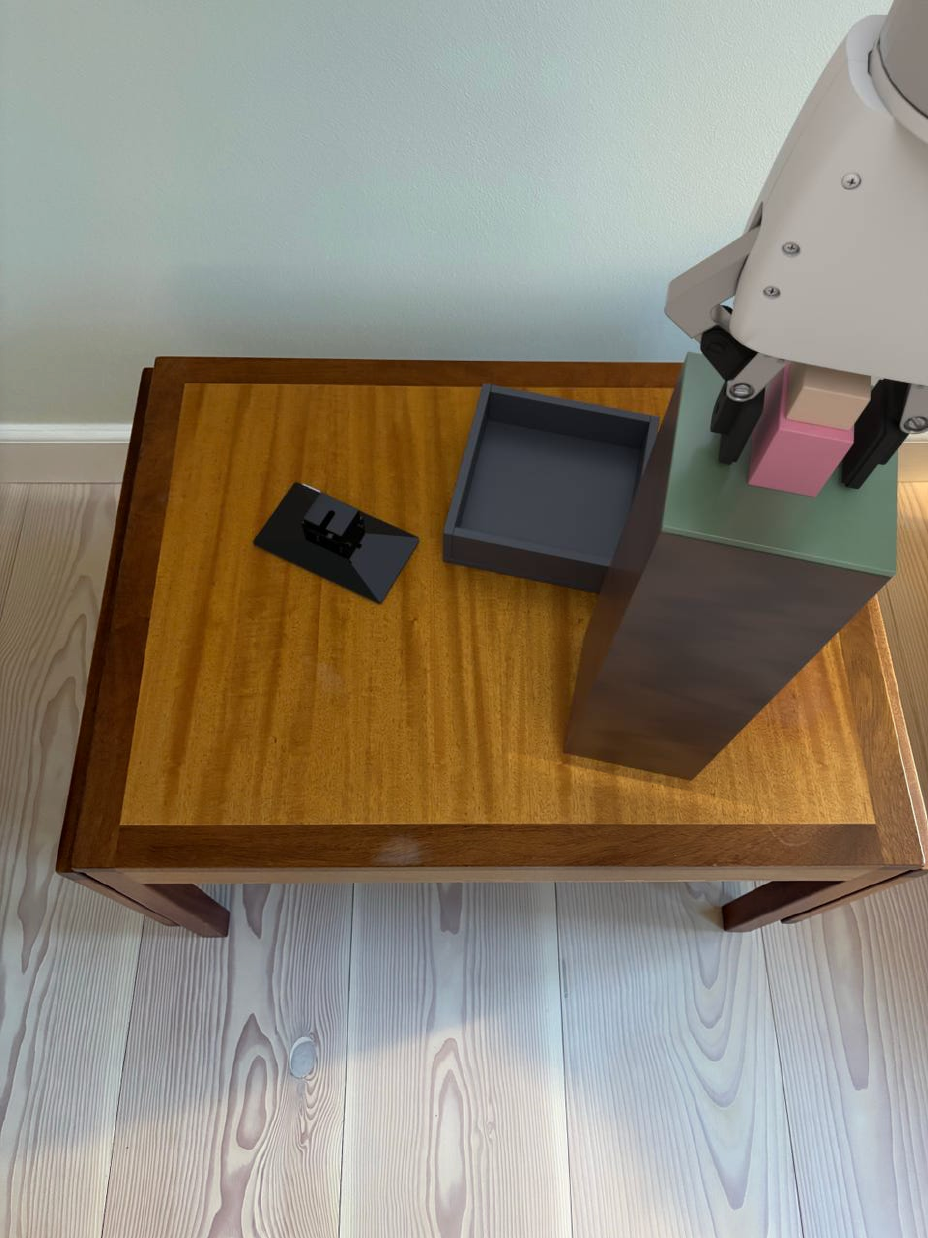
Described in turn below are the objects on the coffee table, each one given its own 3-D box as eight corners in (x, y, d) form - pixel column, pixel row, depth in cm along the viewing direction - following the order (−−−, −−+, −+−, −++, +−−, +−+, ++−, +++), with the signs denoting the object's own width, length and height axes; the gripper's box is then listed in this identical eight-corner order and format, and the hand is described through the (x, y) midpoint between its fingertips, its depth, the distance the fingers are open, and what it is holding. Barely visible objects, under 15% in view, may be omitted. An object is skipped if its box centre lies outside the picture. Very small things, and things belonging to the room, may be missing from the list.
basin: (648, 449, 81) (660, 416, 77) (624, 599, 75) (636, 572, 70) (480, 417, 82) (482, 382, 78) (442, 561, 76) (442, 532, 71)
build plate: (252, 545, 76) (241, 516, 72) (297, 481, 79) (289, 449, 75) (380, 605, 74) (376, 578, 69) (422, 537, 77) (420, 508, 72)
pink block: (819, 426, 41) (878, 332, 35) (815, 498, 39) (876, 411, 34) (754, 413, 41) (802, 318, 36) (747, 484, 39) (797, 396, 34)
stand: (705, 662, 72) (899, 389, 42) (691, 781, 68) (897, 573, 38) (583, 637, 73) (687, 350, 43) (563, 753, 69) (662, 526, 38)
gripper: (1348, -1, 24) (979, 420, 41) (727, -95, 25) (613, 351, 42) (1412, 186, 21) (984, 560, 38) (699, 69, 22) (588, 481, 39)
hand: (790, 447), depth 40 cm, fingers open, 4 cm apart
